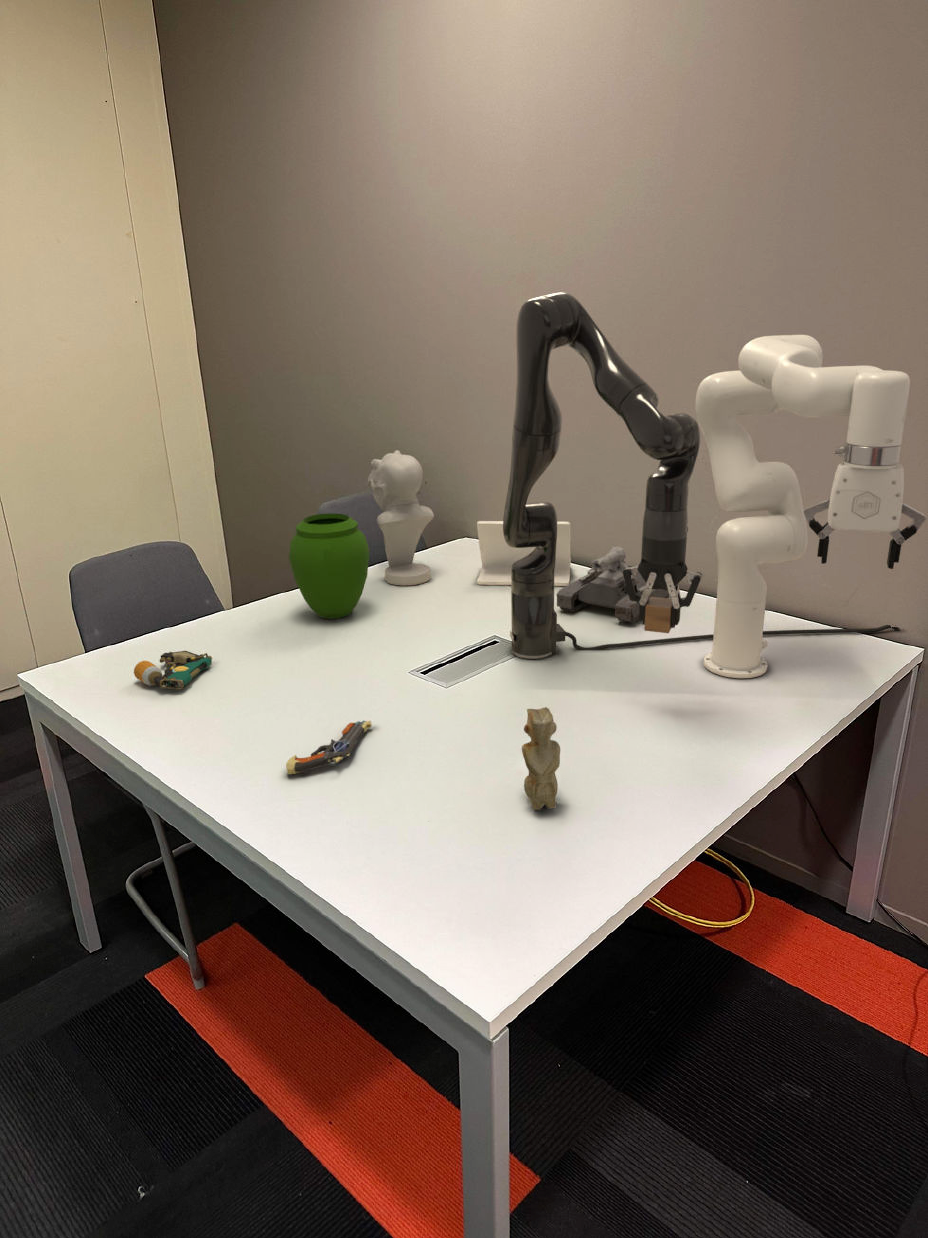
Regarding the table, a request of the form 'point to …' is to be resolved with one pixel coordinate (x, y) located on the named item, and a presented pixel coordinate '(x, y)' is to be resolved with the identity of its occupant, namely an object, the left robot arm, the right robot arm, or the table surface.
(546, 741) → the sculpture
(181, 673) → the spray gun
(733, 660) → the right robot arm
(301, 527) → the vase
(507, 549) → the tablet stand
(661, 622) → the brown wooden block
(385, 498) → the bust sculpture
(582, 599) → the toy
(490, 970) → the table surface
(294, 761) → the toy gun
